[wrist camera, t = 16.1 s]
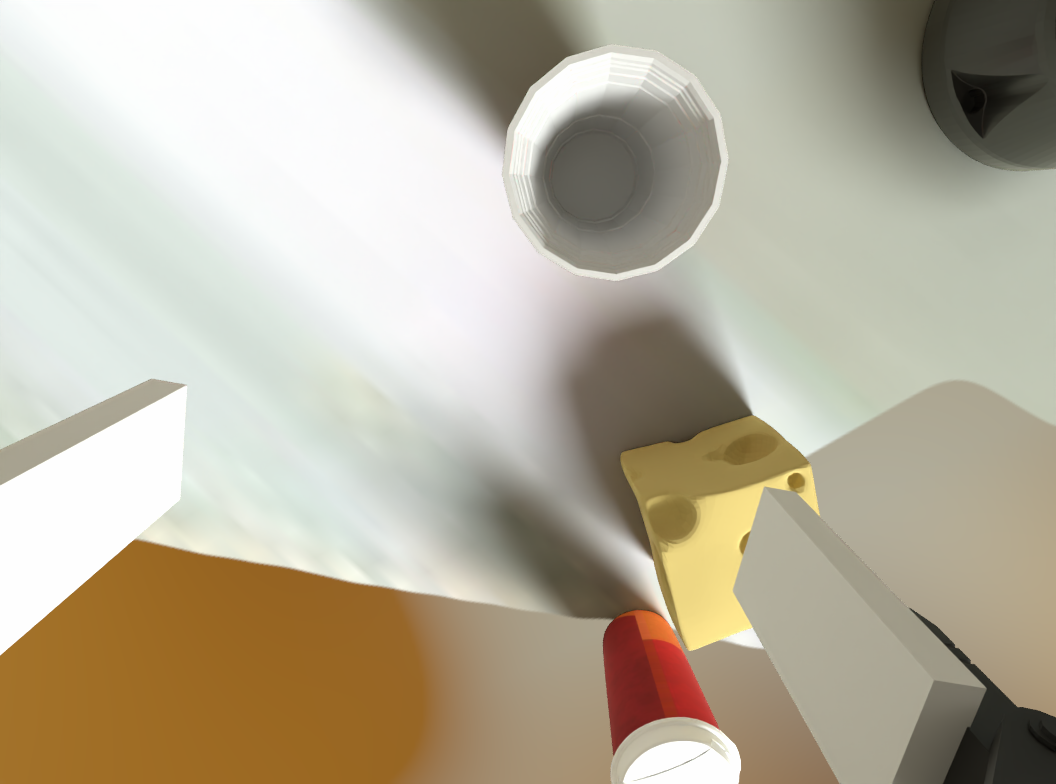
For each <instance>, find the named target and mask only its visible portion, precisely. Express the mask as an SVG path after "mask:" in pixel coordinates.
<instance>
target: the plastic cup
mask: <svg viewBox="0 0 1056 784" xmlns="http://www.w3.org/2000/svg"><path fill="white" fill-rule="evenodd" d="M728 162H729V159H728V153H727V148H726V142H725V136H724V130H723V125H722V119H721V114H720V113H719V111H718V110H717V108H716V106H715V105H714V103H713V102H712V100H711V99H710V97H709V96H708V94H707V92H706V91H705V89H704V88H703V86H702V85H701V83H700V82H699V80H698V78H697V77H696V75H694V74H693V73H691V72H689V71H688V70H686V69H685V68H683V67H682V66H680V65H679V64H677V63H676V62H674V61H672V60H671V59H669V58H668V57H666V56H665V55H663V54H662V53H660V52H659V51H657V50H650V49H643V48H636V47H629V46H622V45H615V44H610V45H606V46H603V47H599V48H596V49H593V50H589V51H586V52H582V53H579V54H575V55H572V56H569V57H566V58H565V59H564V60H562V61H561V62H560V63H559V64H558V65H556V66H555V67H554V68H553V69H552V70H550V71H549V72H548V73H547V74H545V75H544V76H543V77H542V78H541V79H539V80H538V81H537V82H536V83H535V84H533V85H532V86H531V87H530V88H529V90H528V92H527V94H526V96H525V97H524V99H523V101H522V103H521V105H520V107H519V109H518V110H517V112H516V114H515V116H514V118H513V120H512V121H511V123H510V125H509V127H508V129H507V137H506V145H505V153H504V161H503V169H502V177H503V181H504V185H505V189H506V193H507V197H508V201H509V205H510V209H511V213H512V217H513V219H514V220H515V222H516V223H517V224H518V226H519V227H520V229H521V230H522V231H523V233H524V234H525V235H526V237H527V238H528V239H529V241H530V242H531V244H532V245H533V246H534V248H535V249H536V250H537V252H538V253H539V254H541V255H542V256H544V257H546V258H547V259H549V260H551V261H552V262H554V263H556V264H557V265H559V266H561V267H562V268H564V269H566V270H567V271H569V272H570V273H572V274H574V275H578V276H585V277H591V278H598V279H605V280H611V281H619V280H623V279H627V278H631V277H635V276H639V275H643V274H647V273H651V272H655V271H658V270H660V269H661V268H663V267H664V266H665V265H667V264H668V263H670V262H671V261H672V260H674V259H675V258H677V257H678V256H679V255H681V254H682V253H684V252H685V251H686V250H688V249H689V248H690V247H692V246H693V245H694V244H695V243H696V241H697V240H698V238H699V237H700V235H701V234H702V232H703V230H704V229H705V227H706V226H707V224H708V223H709V221H710V220H711V218H712V217H713V215H714V214H715V212H716V210H717V209H718V207H719V205H720V200H721V195H722V190H723V186H724V181H725V176H726V171H727V167H728Z"/></svg>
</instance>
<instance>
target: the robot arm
mask: <svg viewBox="0 0 1056 784" xmlns="http://www.w3.org/2000/svg"><path fill="white" fill-rule="evenodd" d="M922 72H923V81H924V88H925V92H926V96H927V100H928V103H929V106H930V108H931V111H932V113H933V115H934V117H935V120H936V121H937V123H938V125H939V126H940V128H941V129H942V131H943V132H944V134H945V135H946V136H947V137H948V139H949V140H950V141H951V142H952V143H953V144H954V145H955V146H956V147H957V148H959V149H960V150H961V151H962V152H964V153H965V154H966V155H968V156H969V157H971V158H973V159H975V160H976V161H979V162H981V163H983V164H985V165H988V166H991V167H995V168H999V169H1004V170H1011V171H1032V170H1046V169H1056V0H935V2H934V5H933V7H932V10H931V13H930V16H929V19H928V23H927V27H926V32H925V36H924V43H923V53H922ZM186 394H187V385H184V384H178V383H173V382H167V381H161V380H156V379H150V380H148V381H146V382H143V383H141V384H139V385H137V386H135V387H133V388H131V389H129V390H126V391H124V392H122V393H120V394H118V395H116V396H114V397H111V398H109V399H107V400H105V401H103V402H101V403H99V404H97V405H94V406H92V407H90V408H88V409H86V410H84V411H82V412H79V413H77V414H75V415H73V416H71V417H69V418H67V419H65V420H62V421H60V422H58V423H56V424H54V425H52V426H50V427H47V428H45V429H43V430H41V431H39V432H37V433H35V434H33V435H30V436H28V437H26V438H24V439H22V440H20V441H18V442H16V443H13V444H11V445H9V446H7V447H5V448H3V449H1V450H0V655H1V654H2V653H3V652H4V651H6V649H8V648H9V647H10V646H11V645H12V644H14V643H15V642H16V641H17V640H18V639H19V638H21V637H22V636H23V635H24V634H25V633H26V632H27V631H29V630H30V629H31V628H32V627H33V626H34V625H36V624H37V623H38V622H39V621H40V620H41V619H43V618H44V617H45V616H46V615H47V614H48V613H49V612H50V611H52V610H53V609H54V608H55V607H56V606H58V605H59V604H60V603H61V602H62V601H63V600H64V599H66V598H67V597H68V596H69V595H70V594H71V593H72V592H74V591H75V590H76V589H77V588H78V587H79V586H81V585H82V584H83V583H84V582H85V581H86V580H88V579H89V578H90V577H91V576H92V575H93V574H95V573H96V572H97V571H98V570H99V569H100V568H101V567H103V566H104V565H105V564H106V563H107V562H108V561H109V560H111V559H112V558H113V557H114V556H115V555H116V554H118V553H119V552H120V551H121V550H122V549H123V548H124V547H126V546H127V545H128V544H129V543H130V542H131V541H132V540H134V539H135V538H136V537H137V536H138V535H140V534H141V533H142V532H143V531H144V530H145V529H147V528H148V527H149V526H150V525H151V524H152V523H153V522H155V521H156V520H157V519H158V518H159V517H160V516H162V515H163V514H164V513H165V512H166V511H167V510H168V509H170V508H171V507H172V506H173V505H174V504H175V503H177V502H178V501H179V500H180V491H181V475H182V459H183V442H184V426H185V410H186ZM733 593H734V595H735V596H736V598H737V600H738V602H739V604H740V605H741V607H742V609H743V611H744V613H745V614H746V616H747V618H748V620H749V622H750V623H751V625H752V627H753V629H754V631H755V632H756V634H757V636H758V638H759V639H760V641H761V643H762V645H763V647H764V648H765V650H766V652H767V654H768V656H769V657H770V659H771V661H772V663H773V665H774V666H775V668H776V670H777V672H778V674H779V675H780V677H781V679H782V681H783V683H784V684H785V686H786V688H787V690H788V692H789V693H790V695H791V697H792V699H793V701H794V702H795V704H796V706H797V708H798V710H799V711H800V713H801V715H802V717H803V719H804V720H805V722H806V724H807V725H808V727H809V729H810V731H811V733H812V735H813V736H814V738H815V740H816V742H817V744H818V745H819V747H820V749H821V751H822V753H823V754H824V756H825V758H826V760H827V762H828V763H829V765H830V767H831V769H832V770H833V772H834V774H835V776H836V778H837V780H838V781H839V783H840V784H1056V717H1053V716H1050V715H1048V714H1046V713H1043V712H1041V711H1037V710H1033V709H1028V708H1024V707H1017V706H1016V705H1014V703H1013V702H1012V701H1011V700H1010V699H1009V698H1008V697H1006V695H1005V694H1004V693H1003V692H1002V691H1001V690H1000V689H999V688H998V687H997V686H996V685H995V684H994V683H993V682H991V680H990V679H989V678H987V676H986V675H985V674H984V673H983V672H982V671H981V670H980V669H979V668H978V667H977V666H976V665H975V664H971V663H970V661H971V660H970V659H969V658H968V657H967V656H966V655H965V654H964V653H963V652H962V651H961V650H960V649H958V648H955V644H954V643H953V642H952V641H951V640H950V639H949V638H948V637H947V636H946V635H945V634H944V633H943V632H942V631H941V630H940V629H939V628H938V627H937V626H936V625H934V624H932V623H931V622H930V621H928V620H927V619H925V618H924V617H922V616H921V615H919V614H918V613H917V612H915V611H914V610H912V609H911V608H908V607H907V606H906V605H905V604H904V603H903V602H902V601H901V600H900V599H899V598H898V597H897V596H896V595H895V593H893V591H891V589H890V588H889V587H888V586H887V585H886V584H885V583H884V582H883V581H882V580H881V579H880V578H879V577H878V576H877V575H876V574H875V573H874V572H873V571H872V570H871V569H870V568H869V567H868V566H867V565H866V564H865V563H864V562H863V561H862V560H861V558H860V557H859V556H858V555H857V554H856V553H855V552H854V551H853V550H852V549H851V548H850V547H849V546H848V545H847V544H846V543H845V542H844V541H843V540H842V539H841V538H840V537H839V536H838V535H837V534H836V533H835V532H834V531H833V530H832V529H831V528H830V527H829V526H828V525H827V524H826V522H825V521H823V519H822V518H821V517H820V516H819V515H818V514H817V513H816V512H815V511H814V510H813V509H812V508H811V507H810V506H809V505H808V504H807V503H806V502H805V501H804V500H803V499H802V498H801V497H800V496H799V495H798V494H797V493H796V492H793V491H787V490H781V489H776V488H770V487H764V488H763V492H762V495H761V498H760V502H759V505H758V508H757V512H756V515H755V518H754V521H753V525H752V528H751V531H750V535H749V538H748V541H747V545H746V548H745V551H744V554H743V558H742V561H741V564H740V568H739V571H738V574H737V577H736V581H735V584H734V587H733Z"/></svg>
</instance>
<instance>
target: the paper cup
mask: <svg viewBox="0 0 1056 784" xmlns="http://www.w3.org/2000/svg"><path fill="white" fill-rule="evenodd" d="M603 654H604V667H605V678H606V688H607V698H608V708H609V718H610V727H611V737H612V746H613V755H614V757H613V760H612V764H611V771H610V774H611V783H612V784H738V782H739V772H740V770H741V768H740V767H741V766H740V765H741V763H740V757H739V753H738V750H737V748H736V746H735V744H734V743H733V742H732V741H731V740H730V739H728V738H727V737H726V736H725V735H724V733H723V732H721V731H720V729H719V727H718V725H717V722H716V720H715V718H714V716H713V714H712V712H711V710H710V707H709V705H708V703H707V701H706V699H705V697H704V695H703V692H702V691H701V688H700V686H699V684H698V682H697V680H696V678H695V675H694V673H693V671H692V669H691V667H690V665H689V663H688V661H687V659H686V656H685V654H684V652H683V650H682V648H681V646H680V644H679V642H678V640H677V638H676V636H675V634H674V632H673V630H672V628H671V627H670V625H669V624H668V623H667V621H666V620H665V619H664V618H663V617H661V616H660V615H658V614H656V613H654V612H651V611H646V610H633V611H629V612H626V613H623V614H621V615H620V616H618V617H617V618H615V619H614V620H613V621H612V622H611V623H610V624H609V626H608V627H607V629H606V631H605V634H604V638H603Z"/></svg>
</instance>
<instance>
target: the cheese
mask: <svg viewBox="0 0 1056 784" xmlns="http://www.w3.org/2000/svg"><path fill="white" fill-rule="evenodd" d="M620 461H621V466H622V469H623V471H624V474H625V476H626V478H627V480H628V482H629V484H630V486H631V488H632V490H633V492H634V494H635V496H636V498H637V501H638V505H639V508H640V511H641V515H642V518H643V521H644V524H645V528H646V531H647V534H648V538H649V541H650V545H651V550H652V555H653V560H654V565H655V570H656V574H657V578H658V581H659V585H660V588H661V591H662V594H663V597H664V600H665V603H666V606H667V609H668V612H669V614H670V617H671V619H672V621H673V623H674V625H675V627H676V629H677V631H678V633H679V635H680V637H681V639H682V641H683V643H684V645H685V646H686V648H687V649H688V650H695V649H698V648H700V647H703V646H705V645H708V644H710V643H713V642H715V641H718V640H720V639H723V638H725V637H728V636H730V635H733V634H735V633H738V632H741V631H744V630H747V629H750V628H753V627H752V625H751V623H750V622H749V620H748V618H747V616H746V614H745V613H744V611H743V609H742V607H741V605H740V604H739V602H738V600H737V598H736V596H735V595H734V593H733V587H734V584H735V581H736V577H737V574H738V571H739V568H740V564H741V561H742V558H743V554H744V551H745V548H746V545H747V541H748V538H749V535H750V531H751V528H752V525H753V521H754V518H755V515H756V512H757V508H758V505H759V502H760V498H761V495H762V492H763V488H764V487H770V488H776V489H781V490H787V491H793V492H796V493H797V494H798V495H799V496H800V497H801V498H802V499H803V500H804V501H805V502H806V503H807V504H808V505H809V506H810V507H811V508H812V509H813V510H814V511H815V512H816V513H817V514H818V515H819V516H820V513H819V508H818V503H817V497H816V491H815V485H814V479H813V474H812V469H811V465H810V463H809V462H808V461H807V459H806V458H805V457H804V456H803V455H802V454H801V453H800V452H799V451H798V450H797V449H796V448H795V447H794V446H792V445H791V444H790V443H789V442H788V441H786V440H785V439H784V438H783V437H782V436H781V435H780V434H779V433H778V432H777V431H776V430H775V429H773V428H772V427H771V426H770V425H768V424H767V423H765V422H764V421H762V420H761V419H759V418H758V417H756V416H753V415H752V416H748V417H744V418H741V419H738V420H735V421H731V422H728V423H725V424H722V425H719V426H716V427H713V428H710V429H707V430H705V431H702V432H700V433H699V434H697V435H696V436H695V437H693V438H692V439H691V440H689V441H686V442H682V443H672V442H669V441H666V442H662V443H657V444H653V445H650V446H646V447H641V448H636V449H632V450H628V451H624V452H622V453H621V457H620Z"/></svg>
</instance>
